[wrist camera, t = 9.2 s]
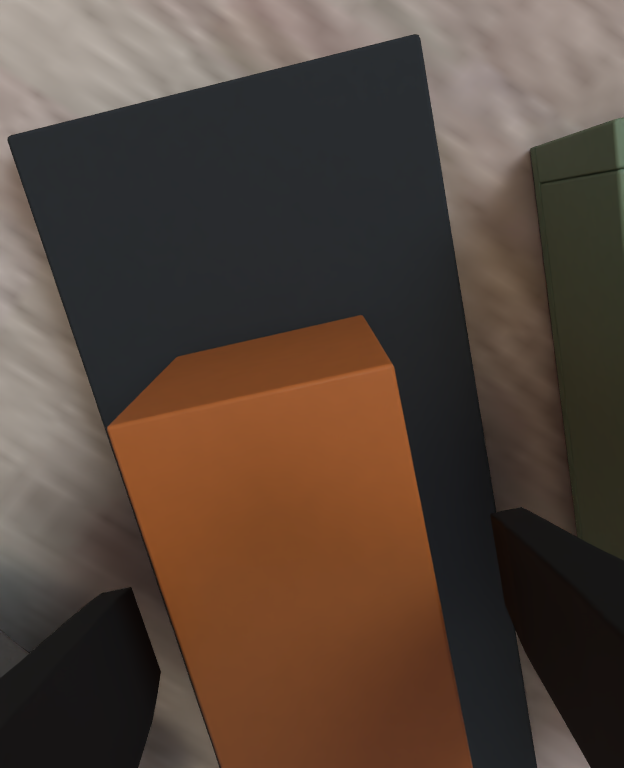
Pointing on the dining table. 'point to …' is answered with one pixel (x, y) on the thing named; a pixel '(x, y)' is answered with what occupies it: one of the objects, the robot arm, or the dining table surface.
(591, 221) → the green tray
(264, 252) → the mat
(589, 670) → the robot arm
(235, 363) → the orange rectangular block
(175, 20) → the dining table surface
